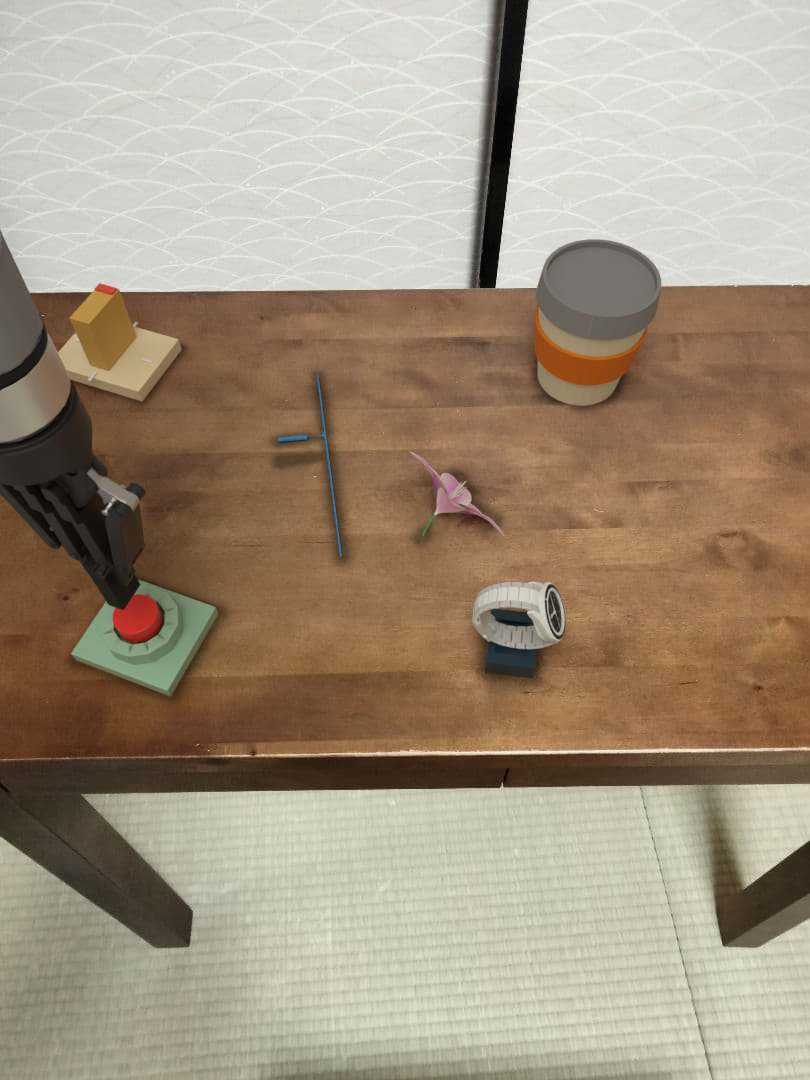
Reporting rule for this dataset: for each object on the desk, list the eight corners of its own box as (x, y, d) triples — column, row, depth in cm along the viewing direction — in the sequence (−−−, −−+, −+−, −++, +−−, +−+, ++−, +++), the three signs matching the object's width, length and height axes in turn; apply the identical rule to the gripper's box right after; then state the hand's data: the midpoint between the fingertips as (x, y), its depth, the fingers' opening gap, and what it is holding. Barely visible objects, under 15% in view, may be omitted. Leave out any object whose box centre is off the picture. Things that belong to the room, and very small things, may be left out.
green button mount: (78, 664, 75) (63, 644, 72) (130, 585, 80) (118, 564, 77) (173, 700, 74) (162, 682, 70) (220, 617, 78) (212, 597, 75)
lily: (499, 586, 81) (539, 508, 76) (390, 571, 77) (425, 488, 72) (465, 516, 90) (499, 442, 85) (366, 499, 86) (395, 421, 81)
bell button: (109, 634, 73) (103, 625, 72) (132, 597, 75) (127, 588, 74) (148, 648, 72) (142, 639, 71) (171, 611, 74) (166, 602, 73)
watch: (552, 685, 74) (573, 630, 65) (464, 674, 75) (473, 618, 66) (554, 630, 77) (574, 570, 68) (469, 620, 78) (478, 560, 69)
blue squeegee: (288, 561, 80) (341, 555, 80) (272, 377, 93) (318, 374, 94) (290, 568, 81) (342, 563, 82) (274, 386, 95) (318, 383, 95)
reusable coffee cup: (600, 334, 100) (629, 227, 87) (649, 407, 93) (687, 303, 80) (505, 357, 97) (520, 251, 85) (548, 433, 91) (571, 330, 78)
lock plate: (52, 383, 95) (43, 366, 93) (100, 326, 100) (93, 309, 98) (141, 410, 93) (135, 394, 91) (186, 351, 98) (181, 334, 96)
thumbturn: (108, 371, 93) (88, 322, 87) (90, 365, 93) (68, 316, 87) (136, 336, 96) (118, 287, 90) (118, 331, 96) (99, 281, 90)
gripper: (137, 387, 50) (213, 582, 70) (-38, 335, 53) (83, 537, 73) (67, 477, 46) (169, 657, 66) (-117, 417, 49) (33, 606, 69)
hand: (124, 594), depth 69 cm, fingers closed
